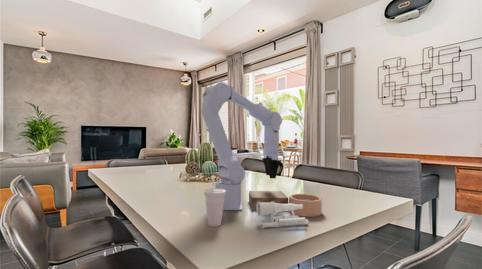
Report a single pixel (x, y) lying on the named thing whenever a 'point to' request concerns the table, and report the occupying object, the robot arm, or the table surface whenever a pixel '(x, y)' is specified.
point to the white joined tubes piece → (283, 220)
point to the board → (267, 197)
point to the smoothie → (214, 204)
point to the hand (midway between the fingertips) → (270, 176)
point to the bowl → (307, 205)
